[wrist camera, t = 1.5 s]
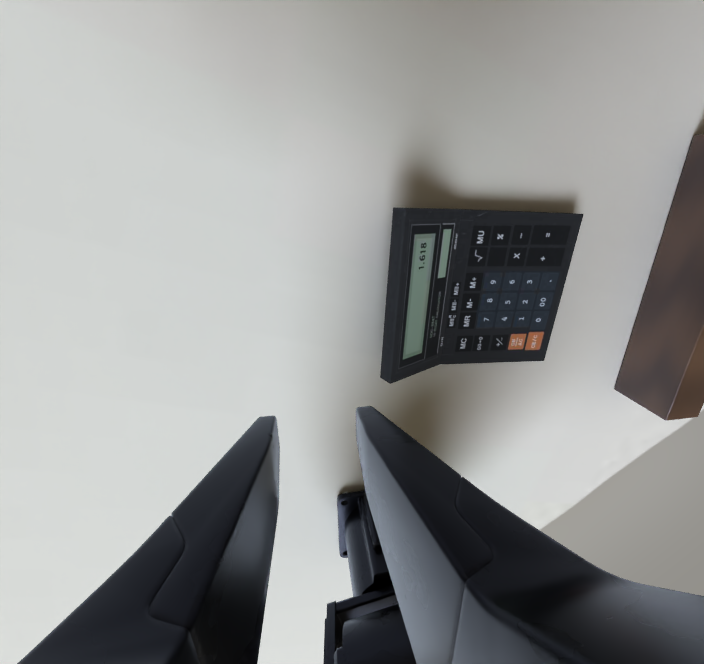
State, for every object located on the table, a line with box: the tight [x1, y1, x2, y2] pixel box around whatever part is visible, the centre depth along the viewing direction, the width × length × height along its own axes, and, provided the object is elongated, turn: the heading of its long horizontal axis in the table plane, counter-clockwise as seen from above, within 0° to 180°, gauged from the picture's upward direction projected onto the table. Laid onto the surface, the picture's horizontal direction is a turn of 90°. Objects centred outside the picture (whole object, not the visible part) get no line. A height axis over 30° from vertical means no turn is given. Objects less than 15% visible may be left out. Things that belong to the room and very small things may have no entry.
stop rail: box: [615, 134, 704, 420], centre depth 21 cm, size 17×2×4 cm, turn 1°
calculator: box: [380, 208, 583, 384], centre depth 20 cm, size 9×12×3 cm
